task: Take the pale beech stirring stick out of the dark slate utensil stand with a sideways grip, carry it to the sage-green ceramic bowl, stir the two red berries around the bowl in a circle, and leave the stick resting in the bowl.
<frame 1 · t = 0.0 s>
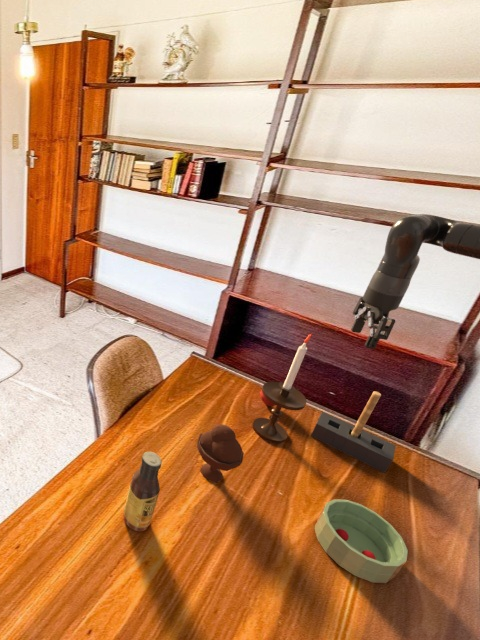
hand: (361, 339, 111), 30 cm above the table, tool pointing down, fingers open, 8 cm apart
utensil stand: (348, 446, 115), on the table
sauce bottle: (136, 520, 93), on the table
onion: (266, 405, 129), on the table
bowl: (352, 548, 88), on the table
berry b: (368, 557, 85), point 2 cm above the table, touching bowl
berry a: (341, 535, 89), point 2 cm above the table, touching bowl
ice cream bowl: (211, 473, 105), on the table
candlestick: (268, 431, 119), on the table
stirring stick: (362, 421, 110), in the utensil stand
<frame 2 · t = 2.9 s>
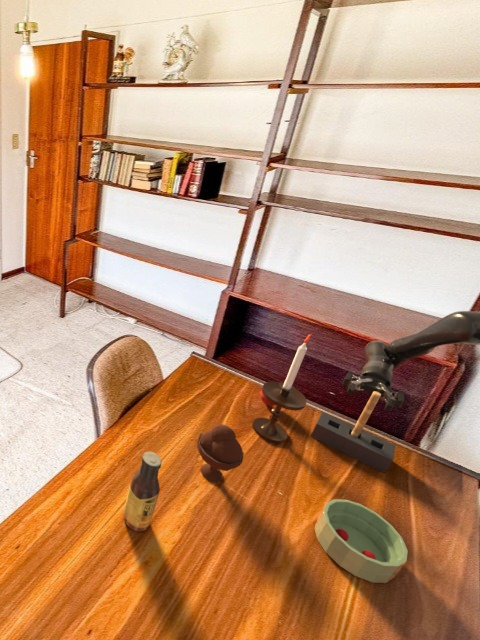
hand: (369, 400, 117), 11 cm above the table, tool horizontal, fingers open, 8 cm apart
nothing on the table moved.
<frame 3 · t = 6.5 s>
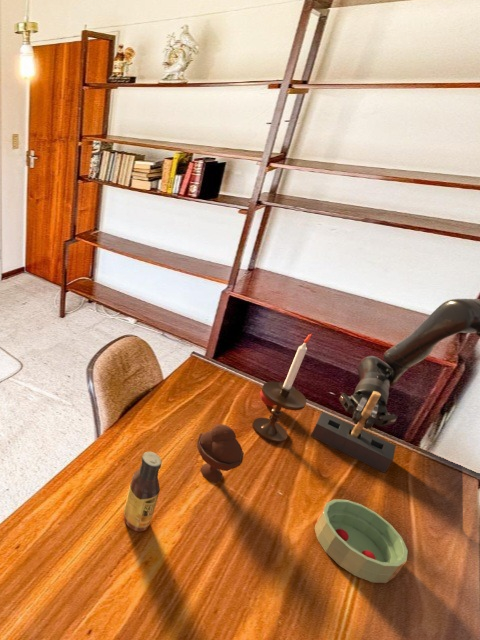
hand: (361, 423, 108), 11 cm above the table, tool horizontal, fingers closed on stirring stick, 1 cm apart
stirring stick: (362, 421, 110), in the utensil stand, touching gripper
everything else where it was.
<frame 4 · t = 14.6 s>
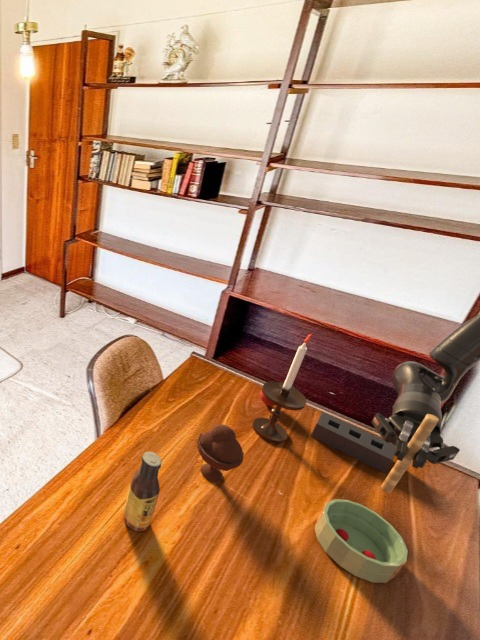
hand: (409, 460, 75), 29 cm above the table, tool horizontal, fingers closed on stirring stick, 1 cm apart
stirring stick: (408, 455, 77), point 28 cm above the table, touching gripper
everything else where it was.
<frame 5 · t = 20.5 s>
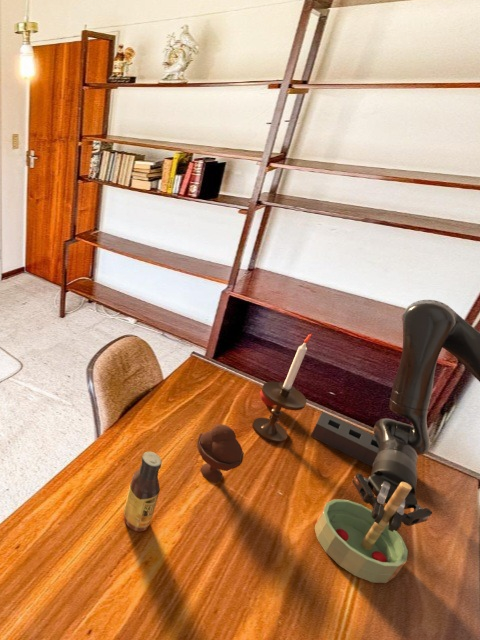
hand: (385, 524, 81), 12 cm above the table, tool horizontal, fingers closed on stirring stick, 1 cm apart
berry b: (379, 557, 85), point 2 cm above the table, tilted 93°, touching bowl
stirring stick: (384, 517, 83), point 12 cm above the table, touching gripper
everything else where it was.
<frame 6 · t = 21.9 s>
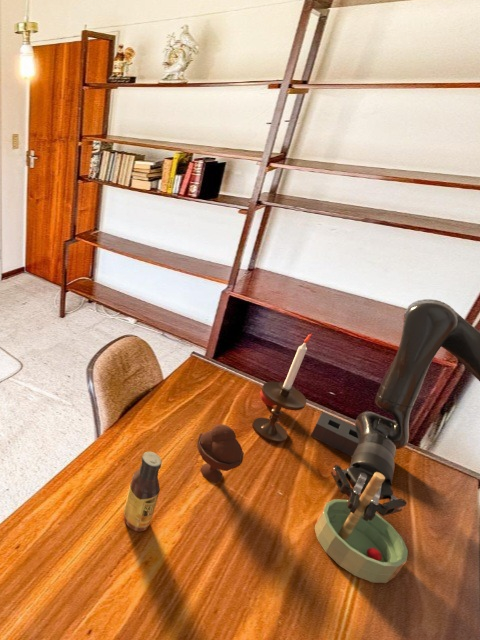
hand: (360, 513, 82), 13 cm above the table, tool horizontal, fingers closed on stirring stick, 1 cm apart
berry b: (374, 554, 85), point 2 cm above the table, tilted 53°, touching bowl
berry a: (333, 537, 89), point 2 cm above the table, tilted 112°, touching bowl
stirring stick: (360, 507, 85), point 12 cm above the table, touching gripper
everything else where it was.
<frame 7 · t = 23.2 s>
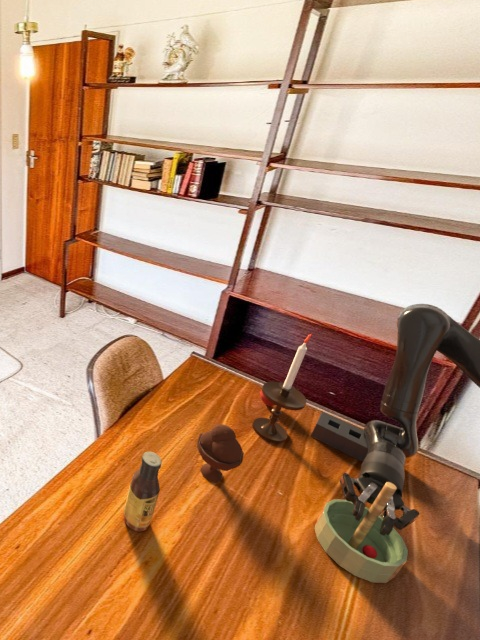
hand: (371, 524, 82), 11 cm above the table, tool horizontal, fingers open, 3 cm apart
berry b: (369, 551, 86), point 2 cm above the table, tilted 18°, touching bowl
berry a: (336, 538, 88), point 2 cm above the table, tilted 96°, touching bowl
stirring stick: (370, 517, 84), in the bowl, point 11 cm above the table
everything else where it was.
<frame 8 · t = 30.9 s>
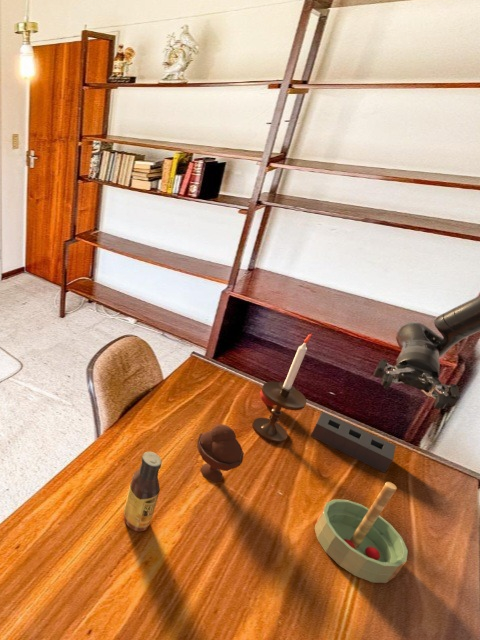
hand: (412, 395, 87), 32 cm above the table, tool horizontal, fingers open, 8 cm apart
berry b: (372, 553, 86), point 2 cm above the table, tilted 40°, touching bowl
berry a: (347, 545, 87), point 2 cm above the table, tilted 48°, touching bowl
everything else where it was.
at the end: berry a moved 2.3 cm from its start; berry a inside the target area in the bowl (2.2 cm from its centre), point 1.8 cm above the bowl's base; stirring stick inside the target area in the bowl (0.2 cm from its centre), point 10.6 cm above the bowl's base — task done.
